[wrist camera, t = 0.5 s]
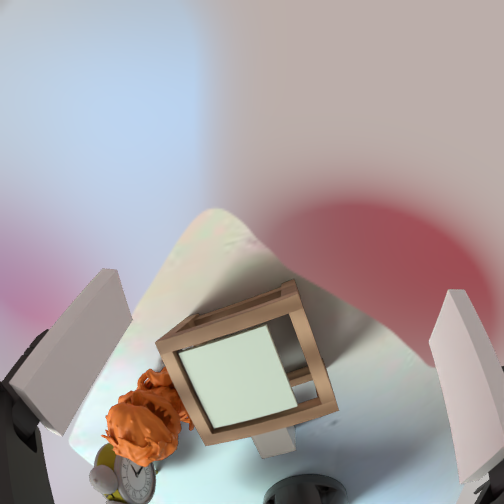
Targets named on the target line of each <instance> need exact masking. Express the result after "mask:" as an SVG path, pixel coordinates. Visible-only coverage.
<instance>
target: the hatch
mask: <svg viewBox="0 0 504 504" xmlns="http://www.w3.org/2000/svg"><path fill="white" fill-rule="evenodd" d="M177 353H178V355H179V358H180V360H181V362H182V364H183V367H184V369H185V371H186V373H187V375H188V378H189V380H190V382H191V384H192V386H193V388H194V390H195V392H196V395H197V397H198V399H199V401H200V403H201V405H202V407H203V409H204V411H205V413H206V415H207V417H208V419H209V421H210V423H211V425H212V427H213V429H216V428H217V427H222V426H226V425H231V424H235V423H239V422H243V421H247V420H251V419H255V418H259V417H263V416H266V415H270V414H273V413H277V412H280V411H284V410H287V409H290V408H294V407H297V406H298V404H297V400H296V397H295V395H294V392H293V390H292V387H291V385H290V382H289V380H288V377H287V374H286V372H285V369H284V367H283V364H282V362H281V359H280V356H279V354H278V351H277V349H276V346H275V344H274V341H273V338H272V336H271V333H270V331H269V328H268V325H267V323H265V324H262V325H259V326H256V327H253V328H251V329H248V330H245V331H242V332H239V333H236V334H232V335H229V336H226V337H223V338H220V339H217V340H214V341H211V342H207V343H204V344H201V345H198V346H195V347H191V348H188V349H185V350H182V349H180V350H178V351H177Z"/></svg>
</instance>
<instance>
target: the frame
mask: <svg viewBox="0 0 504 504" xmlns="http://www.w3.org/2000/svg"><path fill="white" fill-rule="evenodd" d="M286 314H289V315H290V318H291V321H292V323H293V326H294V329H295V331H296V334H297V337H298V340H299V342H300V345H301V348H302V350H303V353H304V356H305V359H306V361H307V364H308V366H307V367H304V368H301V369H298V370H295V371H292V372H289V373H286V374H287V377H288V380H289V382H290V385H291V387H293V386H296V385H299V384H302V383H305V382H308V381H311V380H313V381H314V383H315V387H316V392H317V396H318V397H317V398H314V399H311V400H308V401H305V402H302V403H299V404H298V406H297V407H294V408H290V409H287V410H284V411H280V412H277V413H273V414H270V415H266V416H263V417H259V418H255V419H251V420H247V421H243V422H239V423H235V424H231V425H226V426H222V427H217V428H216V429H213V427H212V425H211V423H210V421H209V419H208V417H207V415H206V413H205V411H204V409H203V407H202V405H201V403H200V401H199V399H198V397H197V395H196V392H195V390H194V388H193V386H192V384H191V382H190V380H189V378H188V375H187V373H186V371H185V369H184V367H183V364H182V362H181V360H180V358H179V355H178V353H177V351H178V350H179V349H183V348H186V347H189V346H193V345H194V347H195V346H198V345H201V344H204V343H207V341H209V340H212V339H215V338H218V337H221V336H224V335H227V334H230V333H233V332H237V331H240V330H243V329H246V328H248V327H251V326H254V325H257V324H260V323H263V322H266V321H269V320H272V319H275V318H277V317H280V316H283V315H286ZM155 344H156V346H157V349H158V351H159V353H160V355H161V358H162V360H163V362H164V364H165V367H166V369H167V371H168V373H169V375H170V377H171V380H172V382H173V384H174V386H175V388H176V390H177V392H178V394H179V396H180V398H181V400H182V402H183V404H184V406H185V408H186V410H187V412H188V414H189V416H190V418H191V420H192V422H193V424H194V426H195V428H196V429H197V431H198V433H199V435H200V437H201V439H202V441H203V442H204V444H205V446H209V445H214V444H219V443H224V442H229V441H234V440H238V439H243V438H247V437H251V436H255V435H260V434H263V433H267V432H271V431H275V430H279V429H282V428H286V427H289V426H293V425H296V424H299V423H303V422H306V421H309V420H312V419H315V418H319V417H322V416H325V415H328V414H330V413H333V412H336V411H339V409H338V406H337V402H336V399H335V396H334V392H333V389H332V386H331V383H330V379H329V376H328V373H327V370H326V367H325V364H324V361H323V358H322V359H321V356H320V353H319V350H318V347H317V344H316V342H315V339H314V336H313V333H312V330H311V328H310V325H309V322H308V319H307V316H306V314H305V311H304V308H303V305H302V301H301V298H300V294H299V291H298V288H297V286H296V283H295V280H294V279H293V280H290V281H287V282H285V283H282V285H281V287H279V288H277V289H274V290H271V291H269V292H266V293H263V294H260V295H257V296H255V297H252V298H249V299H246V300H243V301H241V302H238V303H235V304H232V305H229V306H226V307H224V308H221V309H218V310H215V311H212V312H209V313H206V314H203V315H200V316H199V313H198V314H195V315H192V316H189V317H187V318H185V319H184V320H183V321H182V322H180V323H179V324H178V325H177V326H175V327H174V328H173V329H171V330H170V331H169V332H168V333H166V334H165V335H164V336H163V337H161V338H160V339H159V340H157V341H156V342H155Z"/></svg>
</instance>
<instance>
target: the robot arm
mask: <svg viewBox="0 0 504 504" xmlns="http://www.w3.org/2000/svg"><path fill="white" fill-rule="evenodd" d="M132 320H133V319H132V316H131V313H130V311H129V308H128V304H127V301H126V298H125V295H124V292H123V288H122V285H121V282H120V278H119V275H118V271H117V270H114V269H102V270H101V271H100V272H99V273H98V274H97V275H96V276H95V278H94V279H93V280H92V281H91V282H90V283H89V284H88V285H87V286H86V288H85V289H84V290H83V291H82V292H81V293H80V294H79V295H78V296H77V298H76V299H75V300H74V301H73V302H72V303H71V305H70V306H69V307H68V308H67V309H66V311H65V312H64V313H63V314H62V315H61V316H60V318H59V319H58V320H57V321H56V322H55V324H54V325H53V326H52V328H50V330H48V329H47V330H45V331H44V332H42V333H41V334H40V335H38V336H37V337H36V339H35V340H34V341H33V342H32V343H31V345H30V347H29V348H27V350H26V351H25V352H24V355H22V356H21V357H20V359H19V360H18V361H17V362H16V364H15V365H14V366H13V368H12V369H11V370H10V372H9V373H8V374H7V376H6V377H5V379H4V380H3V381H2V382H0V504H55V503H54V500H53V496H52V492H51V487H50V483H49V479H48V474H47V469H46V464H45V459H44V453H43V447H42V440H41V433H40V430H39V428H38V427H37V425H38V423H39V422H41V423H42V424H43V425H44V426H45V428H46V429H47V430H49V431H51V432H53V433H55V434H57V435H59V436H63V435H64V433H65V431H66V430H67V428H68V426H69V424H70V422H71V421H72V419H73V417H74V415H75V414H76V412H77V410H78V408H79V407H80V405H81V403H82V401H83V400H84V398H85V396H86V395H87V393H88V391H89V390H90V388H91V386H92V385H93V383H94V381H95V380H96V378H97V376H98V375H99V373H100V371H101V370H102V368H103V366H104V365H105V363H106V362H107V360H108V358H109V357H110V355H111V353H112V352H113V350H114V349H115V347H116V345H117V344H118V342H119V341H120V339H121V338H122V336H123V334H124V333H125V331H126V330H127V328H128V327H129V325H130V323H131V322H132ZM429 345H430V348H431V351H432V355H433V358H434V362H435V365H436V369H437V373H438V377H439V380H440V384H441V388H442V392H443V396H444V401H445V405H446V409H447V414H448V418H449V423H450V428H451V433H452V438H453V444H454V449H455V455H456V461H457V468H458V475H459V482H460V484H464V483H468V482H473V481H477V480H479V479H481V478H482V477H483V476H485V475H486V474H487V473H489V480H488V481H487V482H485V483H484V484H483V485H481V486H480V487H479V488H477V490H476V491H475V492H474V494H477V493H479V492H480V491H481V490H482V491H481V493H480V495H479V497H478V498H477V500H476V502H475V504H504V366H501V365H500V363H499V360H498V358H497V355H496V353H495V351H494V349H493V346H492V344H491V342H490V340H489V337H488V336H487V333H486V331H485V329H484V327H483V325H482V323H481V321H480V319H479V317H478V315H477V313H476V311H475V309H474V307H473V305H472V303H471V301H470V299H469V297H468V295H467V294H466V292H465V290H453V289H449V290H448V292H447V294H446V297H445V300H444V303H443V306H442V309H441V311H440V314H439V317H438V319H437V322H436V324H435V327H434V329H433V332H432V334H431V337H430V339H429ZM263 504H348V498H347V494H346V490H345V488H344V487H343V485H342V484H341V483H340V482H338V481H337V480H335V479H332V478H330V477H327V476H322V475H299V476H294V477H290V478H287V479H284V480H282V481H280V482H278V483H276V484H275V485H273V486H272V487H271V488H270V489H269V490H268V491H267V493H266V494H265V496H264V501H263Z"/></svg>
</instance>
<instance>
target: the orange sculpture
mask: <svg viewBox="0 0 504 504" xmlns="http://www.w3.org/2000/svg"><path fill="white" fill-rule="evenodd" d="M147 378H149V379H148V380H147V381H146V382H145V383H144V381H145V380H146V379H147ZM137 384H138V387H137V390H135V391H134V392H133V391H130V392H128V393H127V394H126V395H122V396H120V397H119V399H118V404H116V405H114V406H112V407H111V409H110V410H109V413H108V415H106V419H107V425H108V431H107V430H105V431H106V434H107V436H105V435H101V436H102V437H104V438H106V439H107V440H108V442H109V443H110V444H111V445H113V447H114V448H113V449H112V450H113V451H114V452H115V454H116V455H120V456H122V457H124V458H128V459H130V460H131V461H133V462H134V463H136V464H137V465H140V466H143V467H147V466H148V465H149V464H150V463H151V462H154V461H158V460H163V459H165V458H167V457H168V456H169V455H171V454H173V453H174V451H175V450H177V446H178V434H179V433H180V431H181V423H180V421H183V422H186V423H189V430H190V431H192V430H193V429H194V424H193V422H192V420H191V418H190V416H189V414H188V412H187V410H186V408H185V406H184V404H183V402H182V400H181V398H180V396H179V394H178V392H177V390H176V388H175V386H174V384H173V382H172V380H171V377H170V375H169V373H168V371H167V369H166V367H164V368H163V369H162V371H161V372H155V371H153V370H152V369H149V370H147V371H146V373H144V374H142V375H141V377H140V378H139V380H138V383H137ZM187 416H188V418H186V417H187ZM109 435H110V436H109Z"/></svg>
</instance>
